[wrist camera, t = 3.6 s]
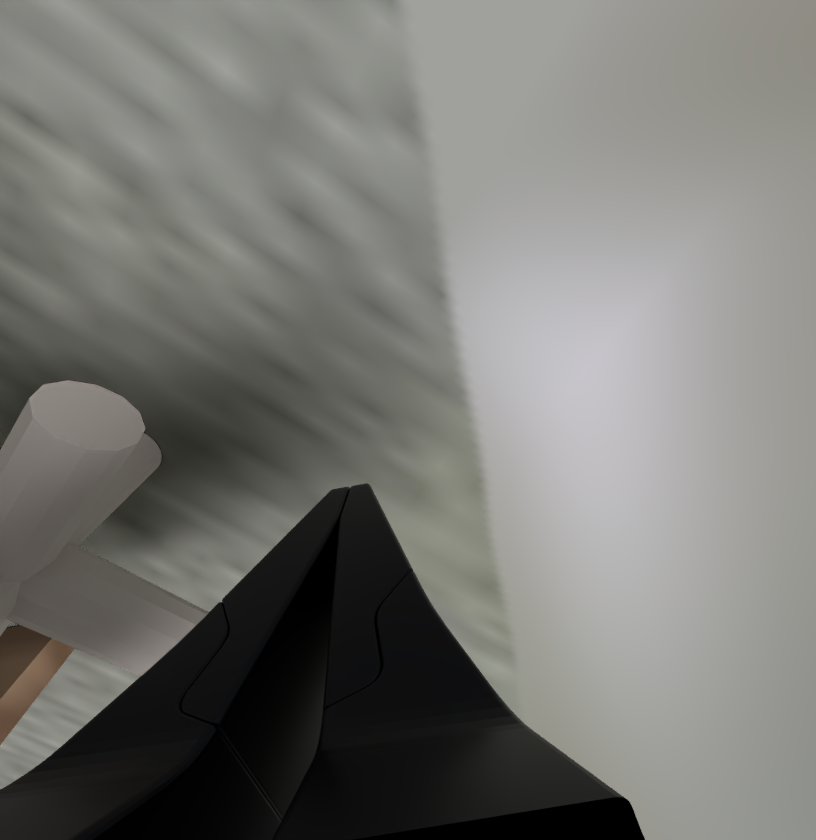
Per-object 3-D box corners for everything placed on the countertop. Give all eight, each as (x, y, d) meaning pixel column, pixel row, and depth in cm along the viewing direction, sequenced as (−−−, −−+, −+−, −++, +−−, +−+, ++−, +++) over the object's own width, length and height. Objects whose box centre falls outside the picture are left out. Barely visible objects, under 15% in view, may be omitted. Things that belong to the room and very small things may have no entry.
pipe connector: (-73, 462, 14) (-999, 921, 5) (41, 222, 11) (-2036, 175, 2) (191, 597, 17) (-51, 1031, 8) (339, 441, 14) (227, 853, 5)
